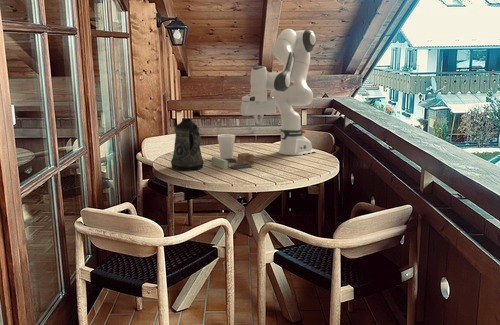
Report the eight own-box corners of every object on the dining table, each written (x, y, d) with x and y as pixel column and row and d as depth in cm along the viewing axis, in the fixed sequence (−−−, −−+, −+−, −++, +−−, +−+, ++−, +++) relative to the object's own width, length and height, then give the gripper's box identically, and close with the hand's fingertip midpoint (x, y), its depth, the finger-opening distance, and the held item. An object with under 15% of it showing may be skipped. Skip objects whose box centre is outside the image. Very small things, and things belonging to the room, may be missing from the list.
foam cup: (232, 160, 275) (232, 136, 272) (216, 159, 277) (215, 136, 274) (236, 157, 284) (236, 134, 281) (220, 156, 286) (220, 133, 283)
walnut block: (247, 162, 271) (247, 152, 270) (253, 163, 266) (253, 154, 265) (238, 163, 268) (237, 153, 267) (243, 165, 263) (243, 155, 262)
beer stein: (183, 163, 267) (182, 116, 262) (214, 166, 258) (214, 118, 253) (164, 169, 253) (162, 119, 248) (196, 173, 244) (195, 122, 239)
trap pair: (232, 160, 275) (232, 158, 275) (251, 167, 257) (251, 165, 257) (215, 162, 270) (215, 160, 270) (234, 169, 252) (234, 167, 252)
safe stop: (215, 163, 266) (215, 156, 265) (227, 168, 254) (227, 160, 253) (212, 164, 265) (211, 156, 264) (224, 169, 253) (224, 161, 252)
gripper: (272, 96, 272) (271, 121, 275) (239, 97, 262) (239, 123, 265) (278, 97, 267) (278, 122, 269) (245, 98, 256) (245, 125, 259)
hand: (258, 123), depth 267 cm, fingers closed
